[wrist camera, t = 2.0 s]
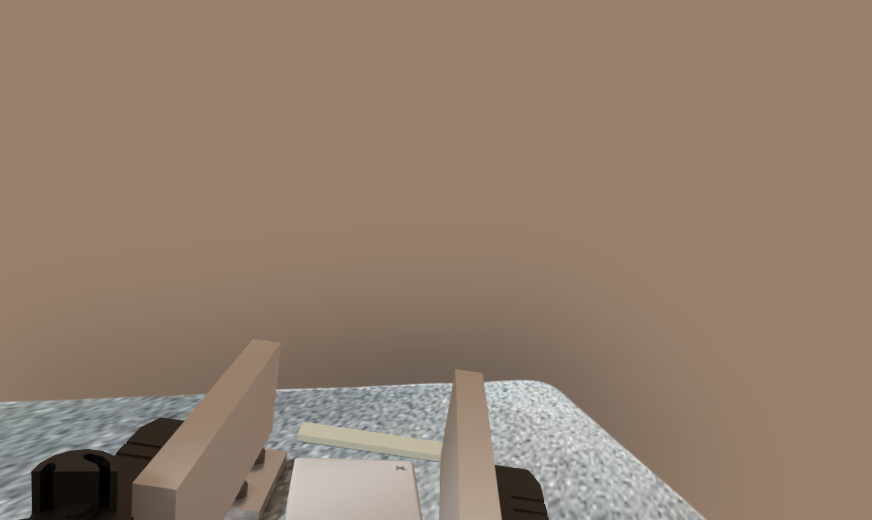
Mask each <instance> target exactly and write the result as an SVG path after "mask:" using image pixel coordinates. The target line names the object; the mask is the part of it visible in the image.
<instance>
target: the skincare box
mask: <svg viewBox="0 0 872 520" xmlns="http://www.w3.org/2000/svg"><path fill="white" fill-rule="evenodd" d="M284 520H422V516H421V510H420V504H419V497H418V490H417V484H416V477H415V470H414V464H413V462H412V461H398V460H365V459H333V458H296V459H295V462H294V467H293V472H292V477H291V482H290V488H289V494H288V500H287V506H286V512H285V518H284Z"/></svg>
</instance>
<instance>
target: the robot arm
mask: <svg viewBox="0 0 872 520" xmlns="http://www.w3.org/2000/svg"><path fill="white" fill-rule="evenodd" d="M279 354H280V343H277V342H270V341H264V340H257V339H253V340H252V341H251V342H250V344H249V345H248V346H247V347H246V348H245V349H244V351H243V352H242V353H241V354H240V356H239V357H238V358H237V359H236V360H235V361H234V363H233V364H232V365H231V366H230V368H229V369H228V370H227V371H226V372H225V373H224V375H223V376H222V377H221V378H220V380H218V382H217V383H216V384H215V385H214V386H213V388H212V389H211V390H210V391H209V392H208V394H207V395H206V396H205V397H204V398H203V400H202V401H201V402H200V403H199V404H198V406H197V407H196V408H195V409H194V410H193V411H192V413H191V414H190V415H189V416H188V417H187V419H186V420H185V421H182V420H175V419H168V418H161V417H160V418H158V419H156V420H154V421H152V422H150V423H148V424H146V425H145V426H143V427H141V428H139V429H138V430H137V432H136V433H135V434H134V435H133V436H132V437H131V438H130V439H129V440H128V441H127V444H124V445H123V446H122V447H121V448H120V449H119V450H118V451H117V453H116V455H114V456H113V455H111V454H108V453H106V452H104V451H99V450H90V449H84V450H74V451H68V452H65V453H61V454H58V455H54V456H52V457H51V458H49V459H47V460H45V461H43V462H41V463H40V464H39V465H38V466H37V467H36V468H35V469H34V470H32V471H31V476H32V514H31V516H30V518H27V519H20V520H224V518H225V516H226V515H227V513H228V511H229V509H230V507H231V505H232V503H233V502H234V500H235V498H236V496H237V494H238V492H239V491H240V489H241V487H242V485H243V483H244V481H245V480H246V478H247V476H248V474H249V472H250V470H251V468H252V467H253V465H254V463H255V461H256V459H257V457H258V456H259V454H260V452H261V450H262V448H263V446H264V445H265V443H266V441H267V439H268V437H269V435H270V433H271V432H272V428H273V417H274V407H275V396H276V386H277V374H278V364H279ZM439 520H549V518H548V517H547V510H546V506H545V504H544V498H543V493H542V489H541V485H540V484H539V483H538V481H537V480H536V479H535V478H534V476H533V475H532V474H531V473H530V471H529V470H525V469H518V468H512V467H505V466H498V465H494V457H493V450H492V442H491V434H490V427H489V419H488V412H487V404H486V396H485V389H484V381H483V374H482V373H477V372H470V371H463V370H457V369H456V371H455V376H454V382H453V387H452V393H451V399H450V404H449V410H448V416H447V421H446V427H445V433H444V438H443V444H442V450H441V458H440V509H439Z"/></svg>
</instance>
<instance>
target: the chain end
mask: <svg viewBox="0 0 872 520" xmlns="http://www.w3.org/2000/svg"><path fill="white" fill-rule="evenodd" d="M286 458H287V452H286V451H280V450H273V449H266V448H262V450H261V452H260V454H259V456H258V457H257V459H256V461H255V463H254V465H253V467H252V468H251V470H250V472H249V474H248V476H247V478H246V480H245V481H244V483H243V485H242V487H241V489H240V491H239V492H238V494H237V496H236V498H235V500H234V502H233V503H232V505H231V507H230V509H229V511H228V513H227V515H226V516H225V518H224V520H261V519H262V517H263V515H264V512H265V510H266V508H267V506H268V503H269V501H270V499H271V497H272V495H273V492H274V490H275V488H276V486H277V484H278V481H279V479H280V477H281V475H282V473H283V470H284V468H285V466H286Z"/></svg>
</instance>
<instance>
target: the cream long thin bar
mask: <svg viewBox="0 0 872 520" xmlns="http://www.w3.org/2000/svg"><path fill="white" fill-rule="evenodd" d="M297 441H302V442H309V443H316V444H322V445H329V446H336V447H343V448H350V449H356V450H363V451H370V452H377V453H384V454H390V455H397V456H404V457H411V458H417V459H424V460H431V461H438V462H440V458H441V450H442V444H443V443H442V442H436V441H429V440H422V439H415V438H409V437H402V436H395V435H388V434H382V433H375V432H368V431H361V430H354V429H348V428H341V427H334V426H327V425H321V424H314V423H307V422H303V424H302V426H301V428H300V430H299V432H298V435H297Z"/></svg>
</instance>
